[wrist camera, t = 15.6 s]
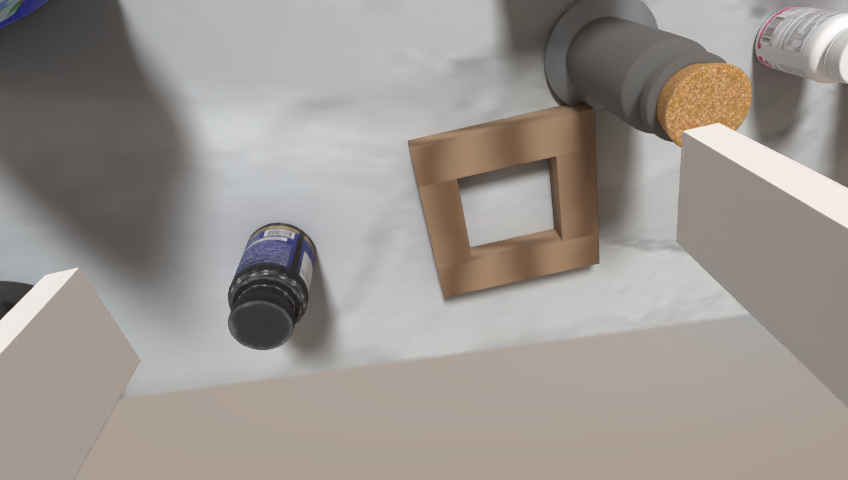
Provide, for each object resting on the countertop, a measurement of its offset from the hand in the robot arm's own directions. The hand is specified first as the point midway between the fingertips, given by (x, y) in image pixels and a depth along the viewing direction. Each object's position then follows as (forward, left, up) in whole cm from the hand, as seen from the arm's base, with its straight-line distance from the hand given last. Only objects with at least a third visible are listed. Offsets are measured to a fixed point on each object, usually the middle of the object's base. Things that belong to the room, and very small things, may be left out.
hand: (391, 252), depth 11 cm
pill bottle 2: (+32, -7, -32) cm, 46 cm away
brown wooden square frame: (+8, -16, -32) cm, 36 cm away
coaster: (+17, -5, -32) cm, 36 cm away
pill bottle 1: (-13, -16, -32) cm, 38 cm away
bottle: (+17, -5, -31) cm, 36 cm away
